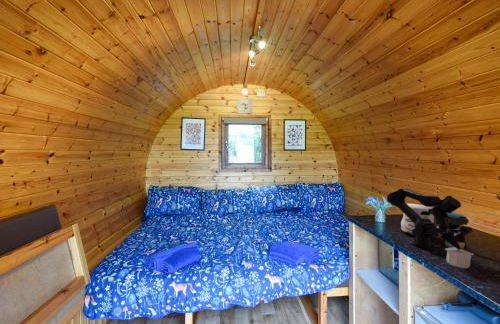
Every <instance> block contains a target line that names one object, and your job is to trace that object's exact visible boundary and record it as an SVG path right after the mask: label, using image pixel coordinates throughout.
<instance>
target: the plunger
mask: <svg viewBox="0 0 500 324" xmlns="http://www.w3.org/2000/svg"><path fill="white" fill-rule="evenodd" d="M457 243H458V244H459V246H460V249H458V252H461V249H462V250H465V249H464V246H465V243H464V242H461V241H457Z"/></svg>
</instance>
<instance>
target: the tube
mask: <svg viewBox="0 0 500 324" xmlns="http://www.w3.org/2000/svg"><path fill="white" fill-rule="evenodd" d="M447 214H448V215H449V217H453V218H459V217H462V216H464V214H461V213H456V212H452V213H447ZM460 227H461V226H460ZM460 227H458V228H457V229H459V228H460ZM444 241H445V243H444V244H445V245H444V246H446V248H447V247H448V248H452V247H454V246H453V245H451V244H450V243H449V242H447V241H446V240H444Z"/></svg>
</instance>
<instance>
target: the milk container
mask: <svg viewBox="0 0 500 324" xmlns="http://www.w3.org/2000/svg"><path fill="white" fill-rule="evenodd" d="M406 204H407V205H408V206H409V207H410V208H412V209H413V210H414V211H415V212H416V213H417V214H418V215H419V216H420V217H421V218H423V219H430V220H431V222H433V223H434V221H435V220H434V219H435V217H434V216H433V214H427V213H428V210H429V209H432V208H433V207H426V206H424V205H422V204H417V203H406ZM414 228H415V224H414V223H413V222H412V221H411V220H410V219H409V218H408V217H407V216H406V215H405V214H404V213H403V217H402V219H401V221H400V229H401V231H402V232H403V233H405V234H407V235H410V236H413V237H415V235H414V234H412V230H413V229H414Z"/></svg>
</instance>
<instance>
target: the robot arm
mask: <svg viewBox="0 0 500 324" xmlns="http://www.w3.org/2000/svg"><path fill="white" fill-rule="evenodd" d="M407 198H409V199H412V200H415V201H417V202H419V203H420V205H424V206H426V207H432V209H429V210H428V213H427V214H433V216H434V219H435V221H436V222H434V221H433V222H431V220H430V219H423V218H421V217H420V216H419V215H418V214H417V213H416V212H415V211H414V210H413V209H412V208H410V207H409V206H408V205H407V204H408V203H406V199H407ZM386 199H387V202H388V203H389V204H390V205H392V206H394V207H396V208H398V209H399V210H400V211H401V212H402V213H403V215H404V214H405V215H406V216H407V217H408V218H409V219H410V220H411V221H412V222H413V223H414V224H415V228H414V229H413V230H412V234H414V235H415V236H414V241H413V243H411V245H412V246H414V247H416V248H419V249H422V250H430V249H432V246H431V245H432V240H431V238H434V237H438V236H439V234H441V235H440V236H439V238H440V239H443V240H444V241H445V240H446V241H447V242H449V243H450V244H451V245H453V246H454V247H456V248H457V249H460V246H459V244H458V243H457V241H461V242H464V243H465V246H464V249H463V250H467V249H468V247H467V242H466V238H465V237H466V236H468V235H469V234H471V233H473V232H474V229H473V228H472V227H471V226H467V225H468V224H469V222H470V221H469V219H468V217H466V216H464V215H463V216H462V217H459V218H453V217H449V215H448V214H447V213H454V212H455V211H457V210H458V209H460V208H461V207H462V204H461V201H459V200H458V199H457V198H454V197H453V196H452V195H446V196H445V197H444V198H443V199H441V198H440V197H439V196H438V195H429V194H423V193H420V192H418V191H413V190H412V189H408V188H402V187H401V188H398V189H397V190H395V191H392V192H391V193H389V194H388V195H387V196H386ZM458 227H460V228H459V229H457V228H458Z"/></svg>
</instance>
